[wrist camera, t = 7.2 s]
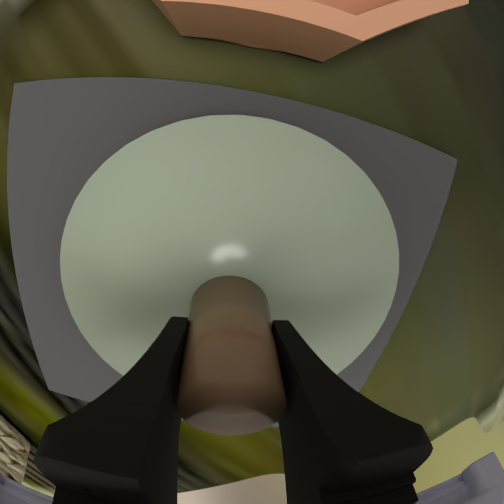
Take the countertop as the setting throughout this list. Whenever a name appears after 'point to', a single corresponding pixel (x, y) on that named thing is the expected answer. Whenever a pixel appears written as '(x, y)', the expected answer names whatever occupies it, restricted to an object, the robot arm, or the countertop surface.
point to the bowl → (298, 21)
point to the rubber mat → (140, 123)
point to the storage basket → (12, 452)
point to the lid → (229, 259)
